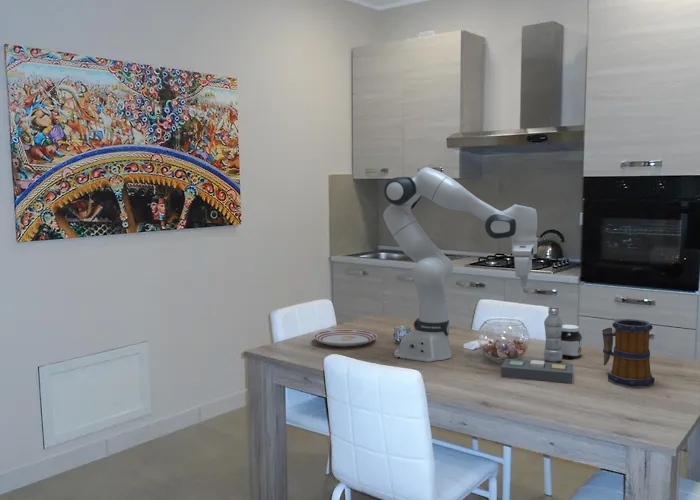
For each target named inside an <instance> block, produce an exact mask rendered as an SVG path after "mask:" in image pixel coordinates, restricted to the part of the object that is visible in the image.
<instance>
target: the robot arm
mask: <svg viewBox="0 0 700 500" xmlns="http://www.w3.org/2000/svg"><path fill="white" fill-rule="evenodd" d="M383 194H384V197H385V199H386V200H387V201H388V202H389V203H390V204H389V205H388V206H387V207H386V208H385V210H384V211H383V217H382V218H383V219H384V222H385V224H386V226H387V229H388V231H389V232H390V234H391V236H393V239H394V240H395V241H396V243H397V244H398V246H399V247H400V249H401V250H402V252H403V254H404V255H406V256H407V257H409V259H412V262H414V263H415V264H414V266H413V267H412V268H411V269H412V270H411V278H412V280H413V281H414V283H415V287H416V292H417V297H418V298H417V299H418V317H417V318H416V319H415V321H414V322H413V329H412V330H411V331H409V332H408V333H407V334H406V335H404V336H403V337H402V338H401V340H400V343H399V347H398V348H397V349H395V350H394V351H393V356H394V357H395V358H398V357H400V359H405V358H406V359H407V360H413V361H420V362H426V363H431V362H435V361H443V360H448V359H451V358H452V357H453V354H452V350H451V346H450V340H449V338H450V337H449V334H450V320H449V319H448V318H449V316H448V315H449V312H448V310H449V309H448V308H449V307H448V305H449V303H448V302H449V301H448V300H449V299H448V298H447V295H446V293H445V291H446V290H445V286H444V282H446V281H447V280H448V279H449V278H450V277H451V276H452V273H453V272H454V264H453V261H452V260H451V259H450V257H448V256H446V255H445V254H444V253H443V251H441V250H440V249H439V247H438V246H437V245H436V244H435V243H434V242H433V241H432V240H431V239H430V238H429V236H428V235H427V234H426V232H425V231H424V229H423V227H422V226H421V224H420V223H419V222H418V221H417V219H416V217H415V216H414V214H413V213H412V210H413V209H414V208H415V207H416V205H417V203H418V202H419V201H420V200H421V198H422V197H424V198H427V199H429V200H430V201H432V202H433V203H435V204H437V205H438V206H441V207H443V208H445V209H447V210H452V211H453V210H454V211H462V212H467V213H469V214H471V215H473V216H475V217H477V218H478V219H480V220H481V221H484V222H485V223H484V229H485V230H484V231H485V232H486V234H487V235H488V236H489V237H490V238H492V239H495V240H503V239H506V238H507V239H508V238H509V239H510V238H511V254H512V256H514V258H513V261H514V271H515V273H514V274H515V277H516V278H520V279H519V280H520V287H521V288H526V287H527V286H528V277H529V274H530V273H531V271H532V270H533V269H532V267H533V259H534V255H536V254H538V237H537V230H538V212H537V209H536V208H535V207H534V205H531V204H529V203H528V204H527V203H520V202H518V203H517V202H516V203H514V204H513V205H512V206H510V207H508V208H506V209H504V210H502V209H498V208H496V207H494V206H492V205H491V204H489V203H487V202H485V201H483V200H482V199H480V198H478V197H477V196H475V195H474V194H473V193H471V192H470V191H469V190H468V189H466V188H465V187H464V186H463V185H461V184H460V183H459V182H458V181H456V180H455V179H453V178H452V177H450V176H448V174H445V173H444V172H441V171H439V170H437V169H435V168H431V167H430V166H429V167H422V168H421V169H420V170H419V171H417V173H416V175H415V176H414V177H412V176H411V177H410V176H396V177H393V178H391V179H389V180H387V182H386V184H385V186H384V189H383Z"/></svg>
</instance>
